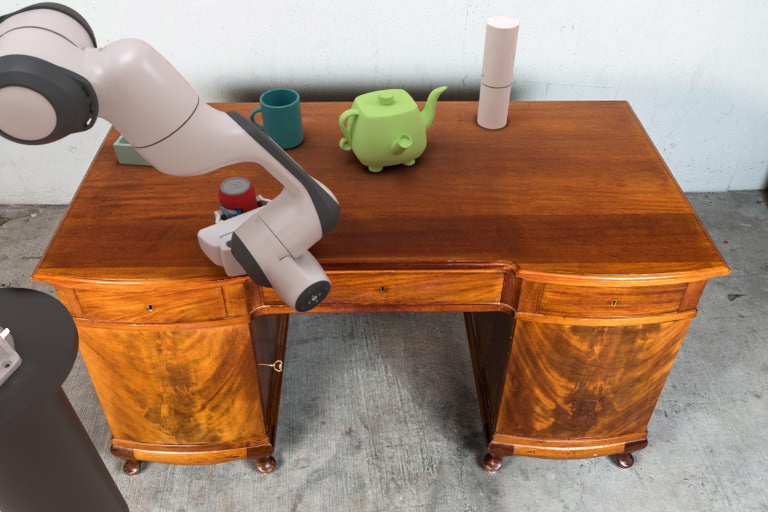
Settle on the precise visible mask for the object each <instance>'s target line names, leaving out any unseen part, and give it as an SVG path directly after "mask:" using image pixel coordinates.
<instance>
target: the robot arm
mask: <svg viewBox="0 0 768 512" xmlns="http://www.w3.org/2000/svg"><path fill="white" fill-rule="evenodd" d="M98 118H99V119H103V120H104V121H106V122H108V123H109V124H110V125H112V126H113V128H114V129H116V130H117V132H119V134H120V136H121V135H122V136H123V137H124V138H125V139H126V140H127V141H128V142H129V144H130V145H131V146H132V147H133V148H134V149H135V150H136V151H137V152H138V153H139V154H140V155H141V156H142V157H143V158H144V159H145V160H146V161H147V162H148V163H150V164H151V165H152V166H151V167H153V168H154V169H155V170H157V171H158V172H160V173H162V174H165V175H168V176H174V177H183V178H185V177H196V176H201V175H205V174H208V173H210V172H213V171H216V170H218V169H221V168H224V167H227V166H231V165H235V164H240V163H255V164H258V165H260V166H261V167H262V168H263V169H264V170H266V171H267V172H268V173H269V174H270V175H271V176H272V177H274V179H276V180H277V181H278V182H279V183H280V184H281V185H282V186H283V189H282V190H281V192H280V193H279V194H278V195H277V196H275V197H274V198H273V199H268V198H266V197H265V198H264V197H263V195H261V194H258V195H256V200H257V205H258V208H257V209H254V210H251V211H249V212H246V213H243V214H241V215H238V216H236V217H233V218H230V219H228V220H226V218H225V213H224V212H223V211H222V210H221V209H218V210H215V211H213V215H214V219H215V224H211V225H209V226H207V227H204V228H201V229H199V231H198V232H197V241H198V245H199V248H200V250H201V251H202V252H203V253H204V255H205V256H206V257H207V258H208V259H209V260H210V261H211V262H212V263H213V264H214V265H216V266H218V267H222V268H223V269H224V272H225V274H226V275H227V276H228V277H237V276H238V277H239V276H243V275H247V276H248V278H250V280H251V281H252V282H253V283H254V284H255V285H257V286H259V287H263V288H266V289H267V288H268V289H272V290H273V292H274V293H275V294H276V295H277V296H278V297H279V298H280V300H282V301H283V302H284V303H285V304H286V305H287V306H289V307H290V308H291V309H292V310H293V311H295V312H297V313H306V312H309V311H312V310H314V309H315V308H316V307H317V306H318V305H320V304H321V303H322V302H323V301H324V300H326V298H327V297H328V296H329V294H330V291H331V289H332V282H331V280H330V279H329V277H328V275H327V273H326V271H325V270H324V268H323V267H322V265H321V264H320V263H319V261H318V260H317V259H316V258H315V256H314V255H313V254H312V253H311V252H310V251H309V249H310V248H311V247H313V246H314V245H315V244H316V243H317V242H319V241H320V240H323V239H324V238H325V237H327V236H329V235H330V234H332V233H333V232H334V231H336V230H337V229H338V228H339V227H338V226H339V224H340V219H341V211H342V207H341V206H340V203H339V201H338V198H337V197H336V196H335V195H334V193H333V192H332V191H331V190H330V189H329V188H328V187H327V186H326V185H325V184H323V183H322V182H321V181H320V180H317V179H316V178H315V177H313V176H312V175H310V174H308V173H307V172H306V170H305V169H304V168H303V167H302V166H301V165H300V164H298V162H296V161H295V160H294V159H293V158H292V157H291V156H290V155H289V154H288V153H287V152H286V151H285V149H282V148H281V147H279V146H278V145H277V144H276V143H275V142H274V141H273V140H272V139H271V138H270V137H269V136H267V135H266V134H265V133H264V131H262V130H260V129H259V128H258V127H257V126H256V125H255V124H254V123H253V122H251V121H250V118H248V117H246V116H245V115H244V114H243V113H240V112H239V111H236V110H227V111H221V110H218V109H216V108H215V107H212V106H211V105H209V104H208V103H206V102H205V101H204V100H203V99H202V98H201V97H200V95H199V94H198V93H197V91H196V90H195V89H194V88H193V86H192V85H191V84H190V83H189V82H188V80H187V79H186V78H185V77H184V76H183V74H181V73H180V71H179V70H178V69H177V68H175V66H174V65H173V64H172V63H171V62H169V60H168V59H166V58H165V56H164V55H162V54H161V53H160V52H159V51H158V50H157V49H155V48H154V47H153V46H152V45H151V44H149V43H148V42H147V41H145V40H142V39H139V38H134V37H127V38H126V37H125V38H121V39H117V40H114V41H112V42H110V43H108V44H106V45H104V46H103V47H102V46H99V47H98V42H97V39H96V36H95V33H94V31H93V28H92V27H91V25H90V24H89V22H88V21H87V19H86V18H85V17H84V16H83V15H82V14H80V13H79V12H78V11H77V10H75V9H74V8H72V7H70V6H68V5H66V4H62V3H60V2H54V1H43V2H37V3H33V4H29V5H27V6H24V7H22V8H20V9H18V10H16V11H13V12H8V13H6V14H3V15H0V137H1V138H3V139H5V140H7V141H10V142H12V143H16V144H19V145H23V146H44V145H49V144H52V143H55V142H57V141H60V140H62V139H64V138H67V137H68V136H70V135H73V134H78V133H84V132H87V131H88V130H90V129H92V128H93V127H94V126H95V124H96V122H97V120H98ZM88 122H89V123H88ZM21 363H22V359H21V357H20V356H19V355H18V354H17V352H16V351H15V345H14V339H13V337H12V335H11V334H10V333H9V330H8V329H3V328H2V327H1V326H0V386H1V385H2V384H3V383H4V382H5V381H6V379H7V378H8V377H9V376H10V375H11V374H12V373H13V372H14V371H15V370H16V369H17V368H18V367H19V366H20V365H21Z"/></svg>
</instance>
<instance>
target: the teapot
mask: <svg viewBox="0 0 768 512" xmlns="http://www.w3.org/2000/svg"><path fill="white" fill-rule="evenodd" d="M447 89H448V86H447V85H442V86H439V87H436V88H434V89H433V90H431V92H430V93H429V95H428V97H427V100H426V103H425V105H424V108H423V109H422V110H421V111H420V109H419V107H418V104H417V103H416V101H415V100H414V98H413V97H412V96H411V94H409V93H408V91H406V90H405V89H402V88H390V89H381V90H375V91H371V92H370V91H369V92H367V93H363V94H361V95H358V96H356V97H355V99H354V100H353V102H352V105H351V108H349V109H346V110H344V111H343V112H342V113H341V114H340V116H339V117H338V118H339V119H338V125H339V128H340V130H341V132H342V134H343V136H344V137H342V138H341V139H340V140H339V143H338V145H339V148H340V149H341V150H342V151H344V152H345V151H346V152H349V151H352V152H353V153H354V155H355V156H356V158H357V159H358V161H359V162H360V163H361V164H362V165H363V166H366V167H368V170H369V171H370V172H372V173H378V172H381V171H382V170H383V169H384V167H389V166H395V165H400V164H402V165H404V166H412V165H414V164H415V163H416V161H415V160H416V159H418V158H420V156H422V154H423V153H424V151H425V150H426V147H427V143H428V141H427V130H429V128H430V127H431V126H432V124H433V122H434V119H435V113H436V107H437V102H438V99H439V97H440V95H441V94H443V93H444V92H445V91H447ZM346 120H347V122H346ZM345 122H346V123H345ZM345 124H346V125H345ZM346 142H347V143H346ZM345 143H346V144H345Z"/></svg>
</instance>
